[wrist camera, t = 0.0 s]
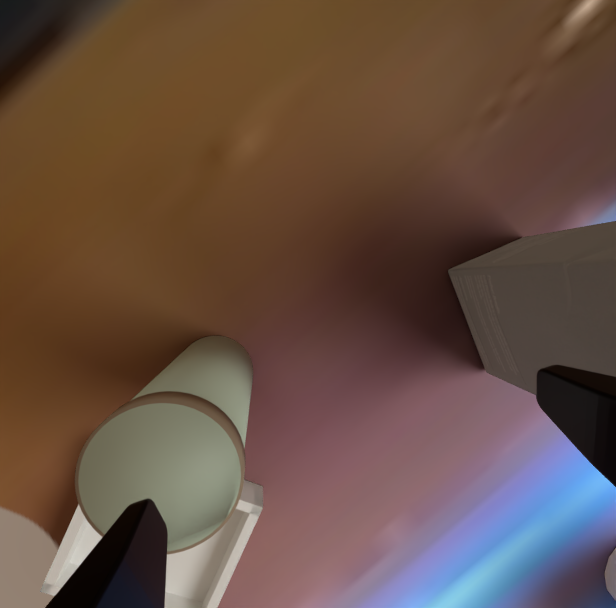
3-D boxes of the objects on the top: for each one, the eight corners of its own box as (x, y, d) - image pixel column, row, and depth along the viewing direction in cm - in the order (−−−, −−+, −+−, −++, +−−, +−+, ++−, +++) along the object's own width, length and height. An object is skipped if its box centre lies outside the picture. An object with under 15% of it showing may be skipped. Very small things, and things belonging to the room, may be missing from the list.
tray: (208, 604, 24) (203, 638, 22) (61, 560, 22) (39, 591, 20) (263, 486, 24) (263, 507, 21) (117, 434, 22) (101, 451, 20)
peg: (235, 420, 23) (205, 574, 11) (163, 393, 22) (48, 525, 10) (267, 352, 23) (269, 434, 11) (194, 321, 22) (114, 375, 10)
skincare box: (558, 338, 26) (1025, 438, 10) (472, 377, 25) (823, 551, 9) (524, 228, 24) (984, 146, 9) (433, 267, 24) (754, 251, 8)
